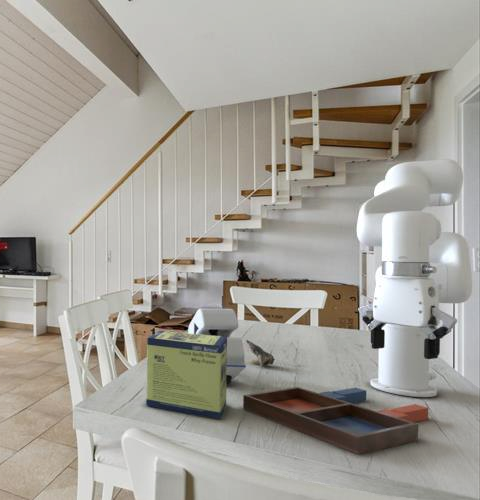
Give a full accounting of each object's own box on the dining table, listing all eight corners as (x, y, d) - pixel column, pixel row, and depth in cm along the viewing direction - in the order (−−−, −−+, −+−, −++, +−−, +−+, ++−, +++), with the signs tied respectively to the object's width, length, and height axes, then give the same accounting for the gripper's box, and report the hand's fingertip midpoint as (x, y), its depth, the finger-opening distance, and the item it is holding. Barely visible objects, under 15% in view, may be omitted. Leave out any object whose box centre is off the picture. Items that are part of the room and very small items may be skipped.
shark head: (240, 363, 143) (240, 341, 143) (251, 360, 147) (251, 338, 147) (267, 369, 137) (267, 346, 136) (278, 366, 140) (278, 343, 140)
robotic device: (228, 401, 132) (214, 334, 143) (256, 375, 114) (238, 300, 125) (189, 400, 133) (178, 333, 144) (211, 373, 115) (197, 300, 126)
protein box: (221, 420, 99) (222, 345, 98) (145, 406, 107) (145, 337, 106) (227, 405, 107) (228, 336, 107) (156, 393, 116) (157, 329, 115)
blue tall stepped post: (351, 396, 113) (352, 386, 113) (370, 402, 109) (370, 391, 109) (313, 403, 109) (313, 392, 109) (330, 409, 105) (331, 398, 105)
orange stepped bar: (410, 413, 102) (410, 402, 102) (433, 420, 98) (433, 409, 98) (370, 422, 97) (370, 410, 97) (392, 429, 94) (392, 417, 94)
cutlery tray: (297, 399, 111) (297, 386, 111) (418, 440, 88) (418, 423, 88) (243, 408, 105) (243, 394, 105) (358, 454, 83) (358, 437, 83)
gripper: (468, 273, 92) (466, 361, 93) (372, 268, 109) (370, 343, 109) (444, 273, 90) (442, 364, 90) (349, 269, 106) (348, 345, 106)
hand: (403, 353), depth 99 cm, fingers open, 9 cm apart
